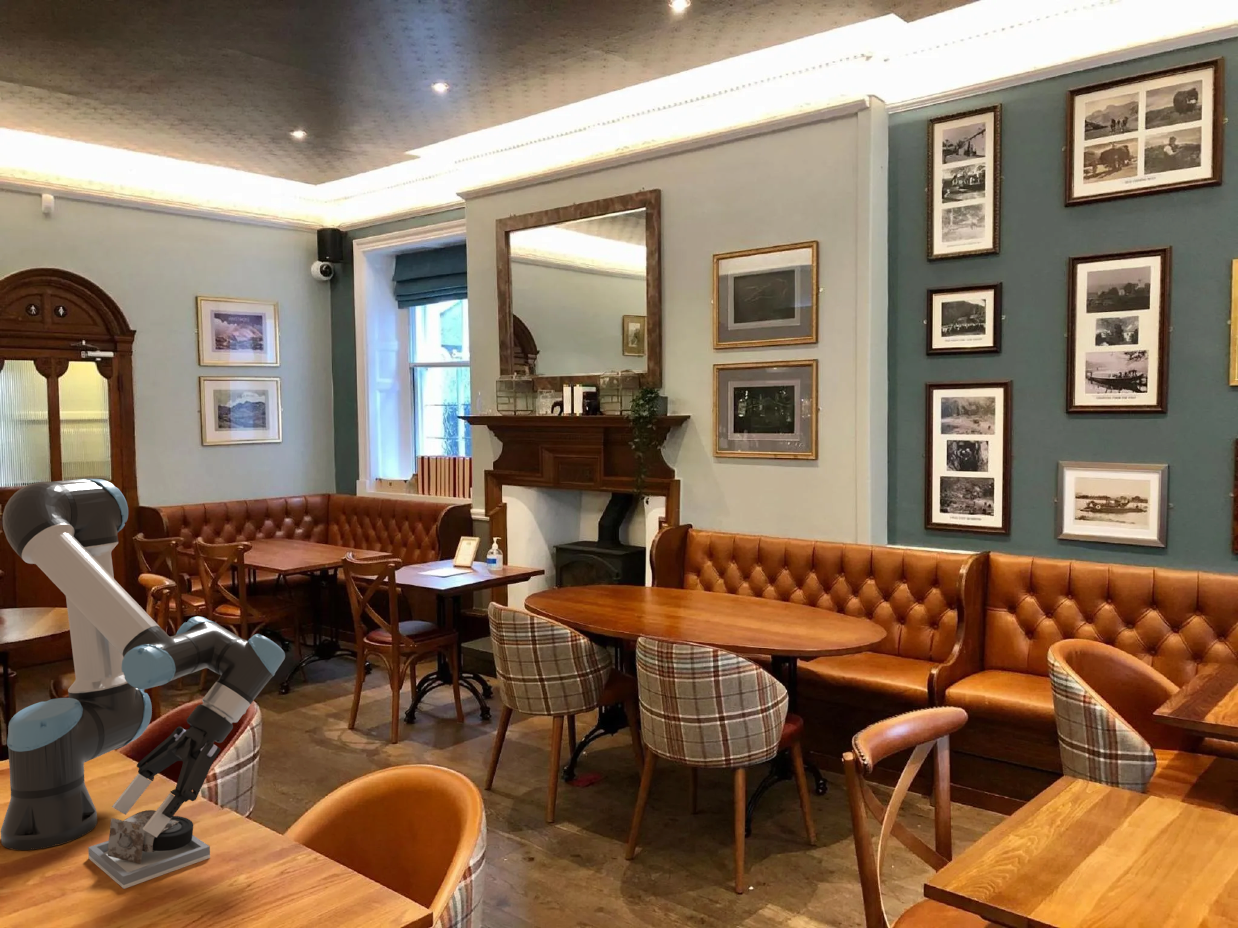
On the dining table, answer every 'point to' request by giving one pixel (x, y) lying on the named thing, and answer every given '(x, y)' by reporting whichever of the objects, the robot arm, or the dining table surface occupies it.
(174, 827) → the caster wheel
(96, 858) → the shallow rectangular tray
